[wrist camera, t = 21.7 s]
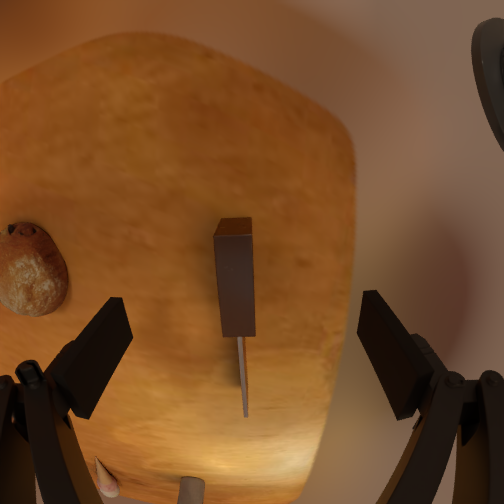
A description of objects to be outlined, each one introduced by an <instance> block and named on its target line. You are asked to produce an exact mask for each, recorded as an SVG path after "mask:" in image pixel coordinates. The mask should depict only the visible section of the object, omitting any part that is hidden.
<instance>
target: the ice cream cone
mask: <svg viewBox="0 0 504 504" xmlns="http://www.w3.org/2000/svg"><path fill="white" fill-rule="evenodd" d="M95 458H96V456H95ZM96 467H97V474H98V479H97V484H98V486H99V487H100V490H101V491H102V493H103V494H104V495H106V496H108V497H116V496H117V495H118V494H119V492H120V489H119V486H118V485H117V481H116V480H115V479H114V478H113V477H112V476H111V475H109V473H108V472H107V471H106V470H105V468H104V467H103V466H102V464H101V463H100V462H99V460H98V459H97V458H96Z"/></svg>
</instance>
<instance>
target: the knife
mask: <svg viewBox="0 0 504 504" xmlns="http://www.w3.org/2000/svg"><path fill="white" fill-rule="evenodd" d="M213 238H214V251H215V263H216V274H217V285H218V295H219V305H220V315H221V325H222V334H223V337H237V342H238V354H239V366H240V377H241V389H242V400H243V410H244V417H248V377H247V361H246V345H245V337H255V336H256V330H255V299H254V271H253V243H252V218H251V217H248V218H224V219H221V220H220V222H219V224H218V227H217V229H216V231H215V234H214V236H213Z"/></svg>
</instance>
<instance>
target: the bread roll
mask: <svg viewBox="0 0 504 504" xmlns="http://www.w3.org/2000/svg"><path fill="white" fill-rule="evenodd" d="M67 286H68V279H67V271H66V266H65V262H64V260H63V258H62V256H61V254H60V253H59V251H58V249H57V247H56V245H55V244H54V242H53V241H52V239H51V238H50V237H49V235H48V234H46V233H45V232H44V231H43V230H42V229H40V228H39V227H37V226H35V225H34V224H31V223H16V224H13V225H11V224H9V225H8V227H7V228H6V229H5V230H3V231H1V233H0V301H1V302H2V304H3V305H5V306H6V307H7V308H9V309H10V310H12V311H13V312H15V313H17V314H21V315H30V316H33V317H38V316H42V315H47V314H49V313H51V312H53V311H55V310H56V309H57V308H58V307H59V306H60V305H61V304H62V302H63V301H64V299H65V296H66V292H67Z"/></svg>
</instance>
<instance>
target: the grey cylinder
mask: <svg viewBox="0 0 504 504" xmlns="http://www.w3.org/2000/svg"><path fill="white" fill-rule="evenodd" d="M204 488H205V482H204V481H203V480H201V479H198V478H195V477H183V478H182V479H181V483H180V489H179V496H178V502H177V504H203V498H204Z"/></svg>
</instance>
